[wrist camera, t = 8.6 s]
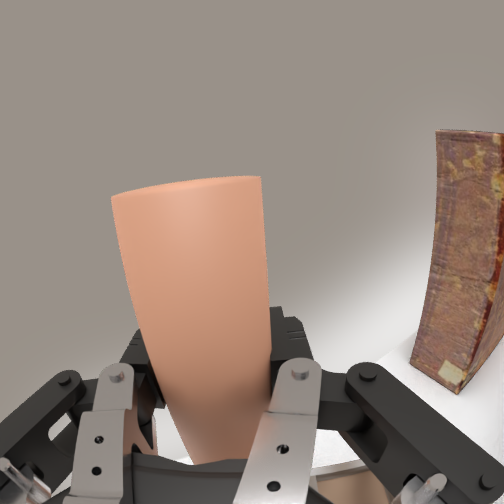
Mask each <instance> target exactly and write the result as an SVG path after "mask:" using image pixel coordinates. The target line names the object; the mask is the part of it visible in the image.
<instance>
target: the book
mask: <svg viewBox="0 0 504 504" xmlns="http://www.w3.org/2000/svg"><path fill="white" fill-rule="evenodd" d="M436 150H437V198H436V200H437V201H436V218H435V231H434V241H433V250H432V258H431V266H430V273H429V279H428V285H427V291H426V296H425V301H424V307H423V311H422V317H421V320H420V325H419V329H418V333H417V337H416V341H415V345H414V348H413V352H412V356H411V359H410V364H412V365H413V366H415V367H416V368H418V369H419V370H421V371H422V372H424V373H425V374H427V375H428V376H430V377H431V378H433V379H435V380H436V381H438V382H439V383H441V384H442V385H444V386H445V387H447V388H448V389H450V390H451V391H453V392H454V393H456V394H457V395H458V394H459V393H460V391H461V390H462V389H463V388H464V387H465V386H466V385H467V383H468V382H469V381H470V380H471V379H472V377H473V376H474V375H475V374H476V372H477V371H478V370H479V369H480V367H481V366H482V365H483V363H484V362H485V361H486V359H487V358H488V357H489V355H490V354H491V353H492V351H493V350H494V349H495V347H496V346H497V344H498V343H499V341H500V340H501V338H502V337H503V335H504V134H503V133H492V132H480V131H465V130H436Z"/></svg>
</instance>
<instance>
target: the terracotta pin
mask: <svg viewBox="0 0 504 504" xmlns="http://www.w3.org/2000/svg"><path fill="white" fill-rule="evenodd" d="M111 201H112V207H113V213H114V220H115V226H116V231H117V236H118V242H119V247H120V251H121V257H122V261H123V266H124V270H125V275H126V279H127V283H128V286H129V290H130V295H131V299H132V302H133V306H134V310H135V313H136V317H137V320H138V324H139V327H140V331H141V334H142V337H143V340H144V343H145V347H146V350H147V353H148V356H149V359H150V361H151V364H152V367H153V370H154V373H155V376H156V378H157V381H158V384H159V386H160V389H161V392H162V394H163V397H164V399H165V402H166V404H167V407H168V409H169V411H170V414H171V416H172V419H173V421H174V423H175V426H176V428H177V430H178V432H179V434H180V436H181V439H182V441H183V443H184V445H185V447H186V449H187V452H188V454H189V456H190V458H191V460H192V462H193V464H194V465H198V464H204V463H210V462H215V461H220V460H225V459H248V458H249V455H250V452H251V449H252V446H253V443H254V439H255V436H256V433H257V430H258V427H259V423H260V420H261V417H262V414H263V412H264V411H268V409H269V406H270V402H271V398H272V382H271V364H270V354H271V349H272V346H271V327H270V309H269V293H268V277H267V260H266V245H265V230H264V216H263V201H262V188H261V177H259V176H230V177H216V178H205V179H196V180H188V181H181V182H174V183H167V184H161V185H156V186H151V187H145V188H141V189H136V190H132V191H128V192H124V193H120V194H117V195H114V196H112V197H111Z"/></svg>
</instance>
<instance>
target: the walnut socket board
mask: <svg viewBox="0 0 504 504" xmlns="http://www.w3.org/2000/svg"><path fill="white" fill-rule="evenodd" d="M309 486H311V487H312V488H313V489H315V490H316V491H317V492H319V493H320V494H321V495H323V496H324V497H326V498H327V499H328V500H330V501H331V502H333V503H334V504H391V502H392V501H393V499H394V496H393V495H392V494H391V493H390V492H389V491H388V490H387V489H386V488H385V486H384V485H383V484H382V483H381V482H380V481H379V480H378V479H377V477H376V476H375V475H374V474H373V473H372V472H371V471H370V469H369V468H368V467H367V466H366V465H365V464H364V462H363V461H362V460H361V459H359V460H354V461H350V462H345V463H340V464H335V465H330V466H324V467H318V468H312V469H311V473H310V479H309Z"/></svg>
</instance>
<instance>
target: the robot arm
mask: <svg viewBox="0 0 504 504" xmlns="http://www.w3.org/2000/svg"><path fill="white" fill-rule="evenodd" d="M269 309H270V327H271V346H272V349H271V354H270V364H271V382H272V398H271V402H270V406H269V409H268V411H264V412H263V414H262V417H261V420H260V423H259V427H258V430H257V433H256V436H255V439H254V443H253V446H252V449H251V452H250V455H249V458H248V459H225V460H220V461H215V462H210V463H204V464H198V465H187V464H183V463H180V462H177V461H173V460H170V459H167V458H164V457H161V456H158V451H157V450H158V449H157V437H156V423H155V422H156V421H155V418H154V415H153V412H154V409H155V408H161V409H164V408H165V405H166V402H165V399H164V397H163V394H162V392H161V389H160V386H159V384H158V381H157V378H156V376H155V373H154V370H153V367H152V364H151V361H150V359H149V356H148V353H147V350H146V347H145V343H144V340H143V337H142V334H141V331H140V329H138V330H137V331H136V333H135V334H134V336H133V338H132V340H131V342H130V343H129V346H128V347H127V349H126V351H125V352H124V354H123V356H122V358H121V360H120V362H119V363H116V364H112V365H110V366H108V367H106V368H105V369H104V370H102V372H101V373H100V375H99V378H98V379H91V380H82V378H81V376H80V374H79V373H78V372H76V371H73V370H66V371H62V372H60V373H58V374H57V375H55V376H54V377H53V378H52V379H50V381H48V382H47V383H46V384H45V385H44V386H42V387H41V388H40V389H39V390H38V391H36V392H35V393H34V394H33V395H32V396H31V397H29V398H28V399H27V400H26V401H25V402H24V403H22V404H21V405H20V406H19V407H18V408H17V409H16V410H14V411H13V412H12V413H11V414H10V415H9V416H8V417H7V418H5V419H4V420H3V421H2V422H1V423H0V504H334V503H333V502H331V501H330V500H328V499H327V498H326V497H324V496H323V495H321V494H320V493H319V492H317V491H316V490H315V489H313V488H312V487H311V486H309V479H310V473H311V467H312V460H313V453H314V445H315V438H316V429H324V430H335V431H338V432H339V434H340V435H341V436H342V438H343V439H344V440H345V441H346V442H347V444H348V445H349V446H350V447H351V448H352V450H353V451H354V452H355V453H356V454H357V455H358V457H359V458H360V459H361V460H362V461H363V462H364V464H365V465H366V466H367V467H368V468H369V469H370V471H371V472H372V473H373V474H374V475H375V476H376V477H377V479H378V480H379V481H380V482H381V483H382V484H383V485H384V486H385V488H386V489H387V490H388V491H389V492H390V493H391V494H392V495H393V496H394V499H393V501H392V502H391V504H492V503H493V502H495V501H496V500H497V499H498V498H500V497H501V496H502V494H503V493H504V466H503V465H502V464H501V463H499V462H498V461H497V460H496V459H494V458H493V457H492V456H491V455H489V454H488V453H487V452H486V451H485V450H483V449H482V448H481V447H480V446H478V445H477V444H476V443H475V442H473V441H472V440H471V439H470V438H469V437H467V436H466V435H465V434H464V433H462V432H461V431H460V430H459V429H458V428H456V427H455V426H454V425H453V424H451V423H450V422H449V421H448V420H447V419H445V418H444V417H443V416H442V415H440V414H439V413H438V412H437V411H436V410H434V409H433V408H432V407H431V406H429V405H428V404H427V403H426V402H425V401H423V400H422V399H421V398H420V397H418V396H417V395H416V394H415V393H414V392H412V391H411V390H410V389H409V388H408V387H406V386H405V385H404V384H403V383H402V382H400V381H399V380H398V379H397V378H395V377H394V376H393V375H392V374H391V373H389V372H388V371H387V370H386V369H385V368H383V367H382V366H380V365H378V364H375V363H371V362H363V363H358V364H355V365H354V366H352V367H351V368H350V369H349V370H348V372H347V374H345V373H333V372H328V371H325V370H323V369H321V367H320V365H319V364H318V363H317V362H316V361H314V359H313V356H312V353H311V350H310V346H309V343H308V340H307V338H306V334H305V332H304V328H303V325H302V322H301V321H299V320H298V319H297V318H296V317H284V316H283V311H282V307H281V306H278V307H269ZM65 413H67V415H68V416H69V418H70V419H71V422H70V423H69V424H68V425H67V426H66V427H65V428H64V429H63V430H62V431H61V432H60V433H59V434H58V435H57V436H56V437H55V438H54V439H53V440H52V441H51V440H50V439H49V437H48V431H49V429H50V427H52V425H53V424H55V423H56V422H57V421H58V420H59V419H60V418H61V417H62V416H63V415H64V414H65ZM71 472H72V481H71V486H70V487H69V488H67V489H66V490H64V491H62V492H60V493H59V494H57V495H55V496H53V497H52V498H51V494H52V493H53V492H54V491H55V490H56V488H58V486H59V485H60V484H61V483H62V482H63V481H64V480H65V479H66V477H67V476H68V475H69V474H70V473H71Z"/></svg>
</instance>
